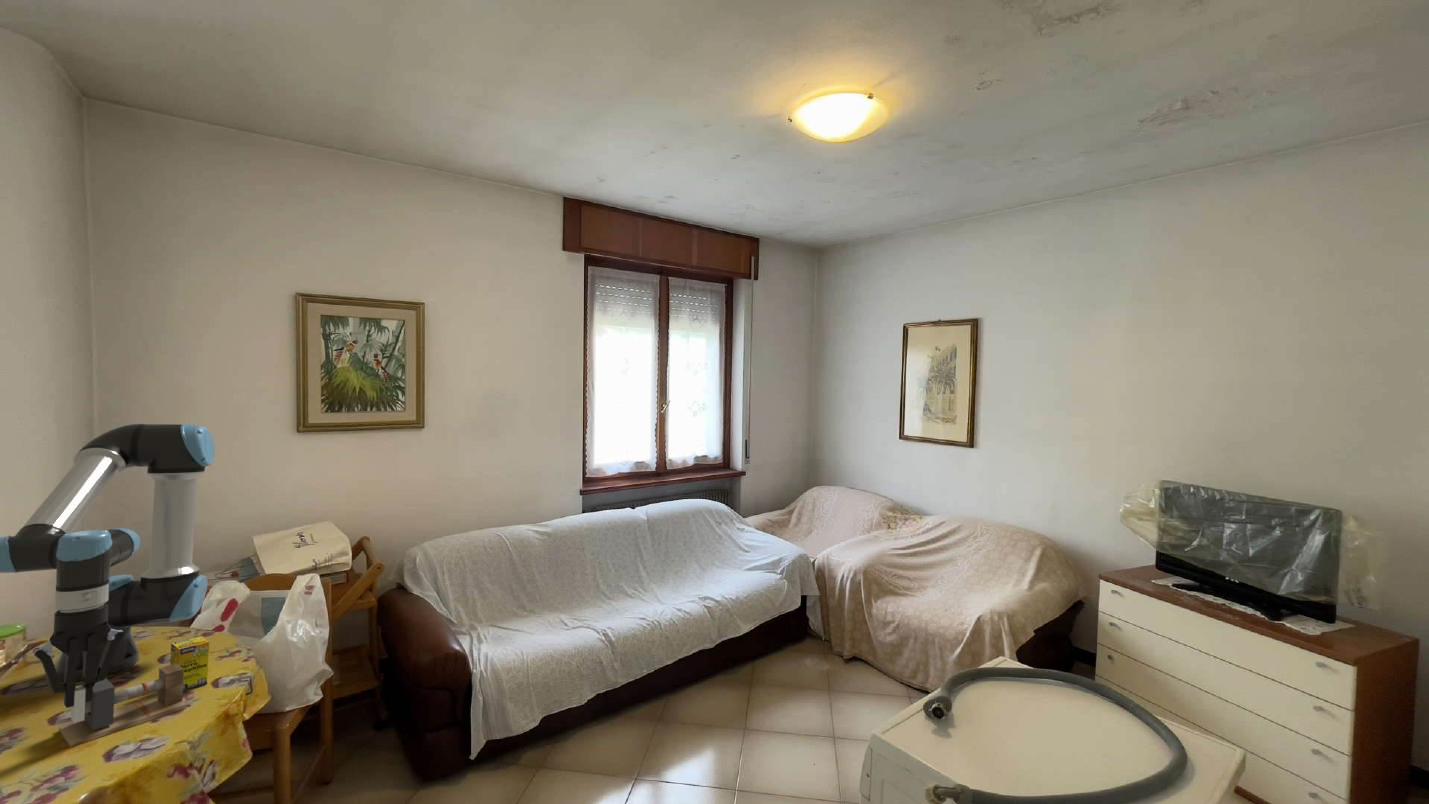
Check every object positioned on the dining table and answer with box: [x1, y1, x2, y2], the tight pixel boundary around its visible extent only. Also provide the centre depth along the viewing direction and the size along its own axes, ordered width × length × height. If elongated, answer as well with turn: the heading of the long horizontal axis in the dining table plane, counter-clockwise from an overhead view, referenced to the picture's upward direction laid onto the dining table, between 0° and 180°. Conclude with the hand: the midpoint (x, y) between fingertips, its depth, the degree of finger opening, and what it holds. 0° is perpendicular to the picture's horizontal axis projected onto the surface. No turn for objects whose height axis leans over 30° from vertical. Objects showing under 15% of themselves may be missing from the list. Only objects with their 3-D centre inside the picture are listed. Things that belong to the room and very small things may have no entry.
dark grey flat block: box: [84, 677, 116, 730], centre depth 123 cm, size 3×8×8 cm, turn 58°
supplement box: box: [169, 635, 210, 692], centre depth 141 cm, size 6×6×11 cm
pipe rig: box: [58, 664, 187, 748], centre depth 126 cm, size 18×10×8 cm, turn 148°
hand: (77, 719), depth 117 cm, fingers closed
